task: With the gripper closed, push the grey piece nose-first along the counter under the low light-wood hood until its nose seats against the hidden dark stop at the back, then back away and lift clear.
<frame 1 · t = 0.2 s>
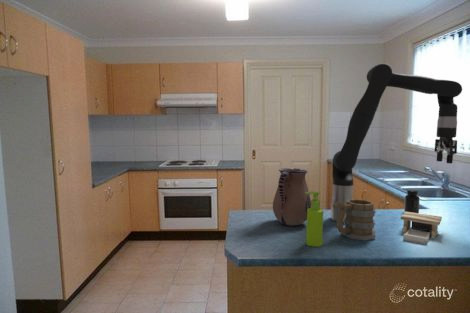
hand: (444, 162, 150), 29 cm above the worktop, tool pointing down, fingers open, 8 cm apart
tankard: (351, 236, 134), on the worktop
hood: (420, 231, 140), on the worktop
supplement bottle: (411, 213, 173), on the worktop
grey piece: (417, 237, 133), on the worktop
soap dispenser: (312, 244, 124), on the worktop
ceramic pitcher: (290, 224, 149), on the worktop
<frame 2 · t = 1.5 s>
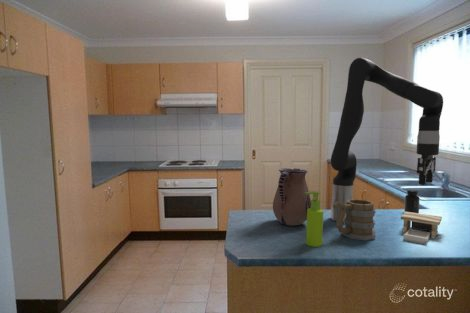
hand: (425, 183, 129), 22 cm above the worktop, tool pointing down, fingers open, 8 cm apart
nothing on the worktop moved.
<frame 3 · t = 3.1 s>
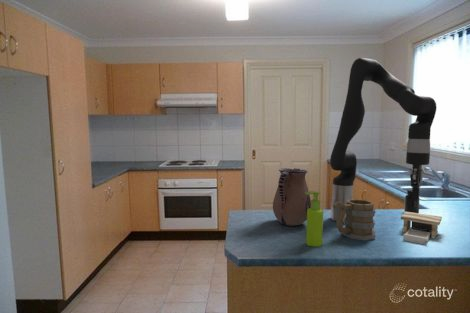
hand: (415, 197, 122), 18 cm above the worktop, tool pointing down, fingers closed
nothing on the worktop moved.
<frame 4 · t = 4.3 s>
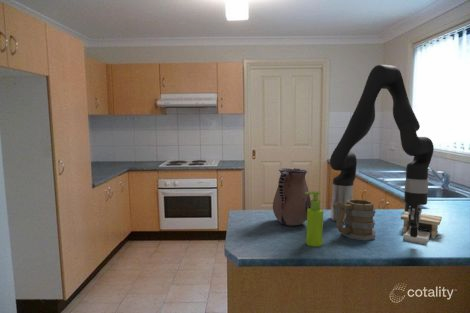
hand: (413, 236, 122), 4 cm above the worktop, tool pointing down, fingers closed
nothing on the worktop moved.
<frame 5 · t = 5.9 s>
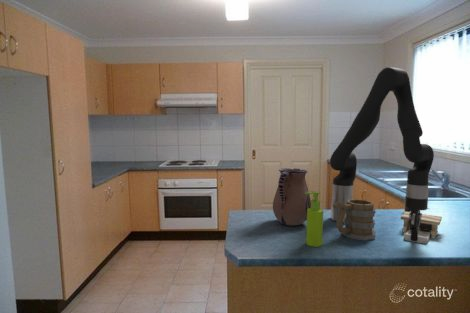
hand: (414, 240, 126), 1 cm above the worktop, tool pointing down, fingers closed
grey piece: (417, 236, 134), on the worktop, touching gripper
everything else where it was.
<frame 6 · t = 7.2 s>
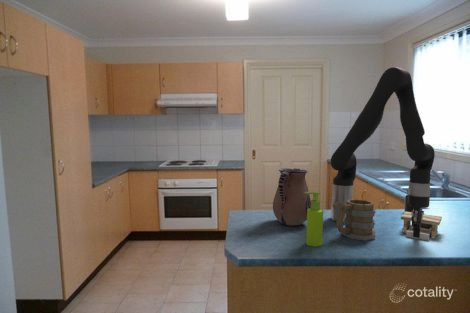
hand: (416, 236, 130), 1 cm above the worktop, tool pointing down, fingers closed
grey piece: (418, 233, 138), on the worktop, touching gripper, hood
everything else where it was.
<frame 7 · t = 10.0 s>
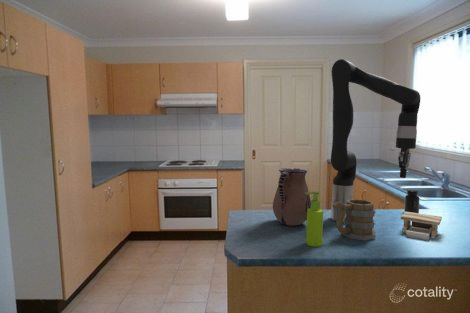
hand: (402, 177, 140), 23 cm above the worktop, tool pointing down, fingers closed
grey piece: (418, 233, 138), on the worktop, touching hood
everything else where it was.
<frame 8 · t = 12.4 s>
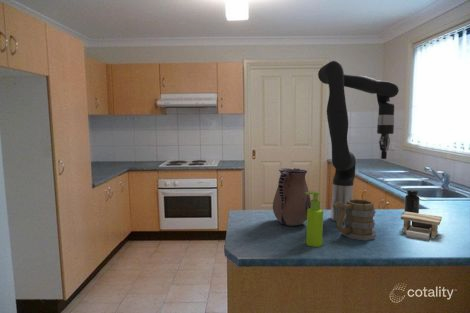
hand: (383, 158, 165), 29 cm above the worktop, tool pointing down, fingers closed
grey piece: (418, 233, 138), on the worktop
everything else where it was.
at the end: grey piece 3.3 cm from the hood (horizontally); grey piece 0.2 cm from the target spot on the hood, point 0.0 cm above the hood's base; grey piece tilted 0° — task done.
